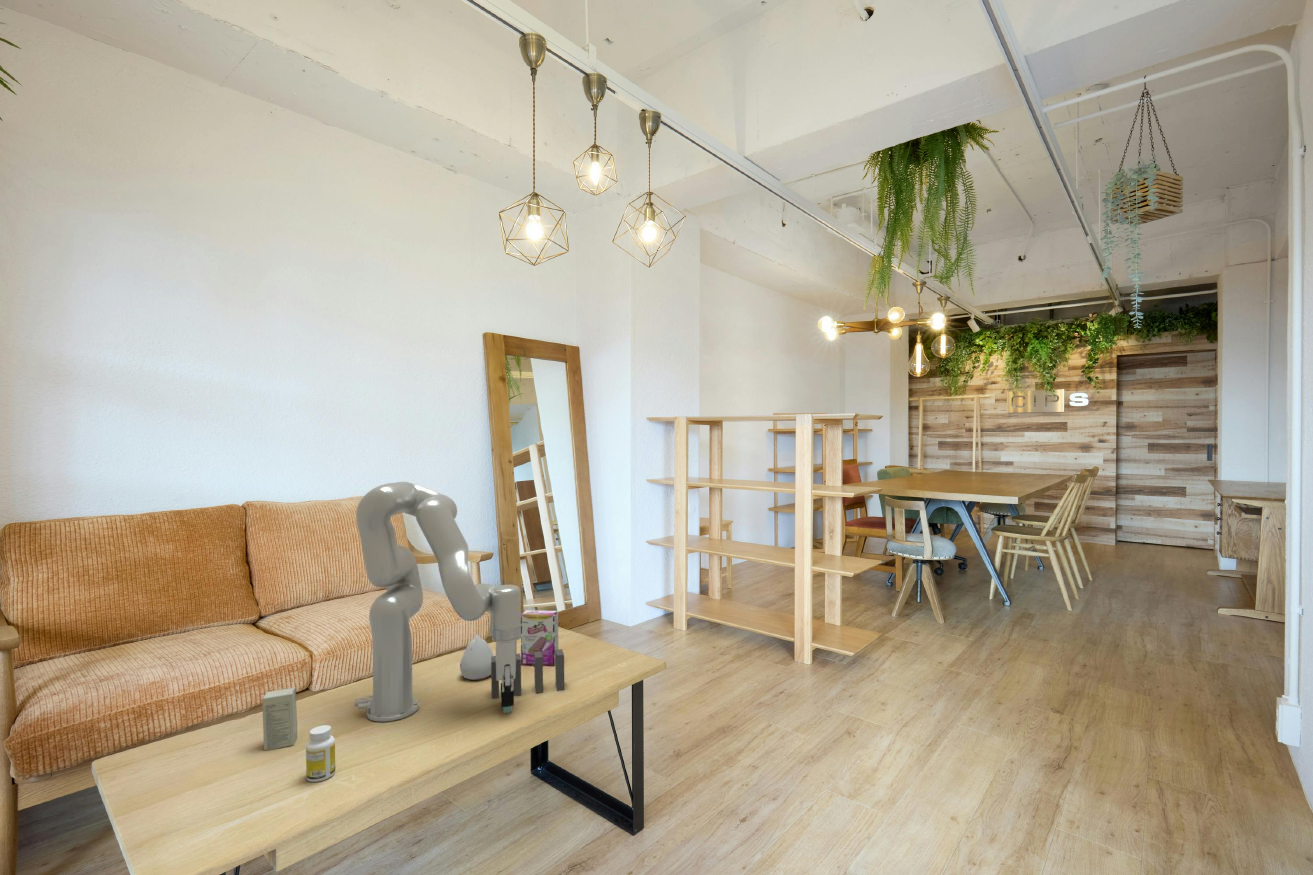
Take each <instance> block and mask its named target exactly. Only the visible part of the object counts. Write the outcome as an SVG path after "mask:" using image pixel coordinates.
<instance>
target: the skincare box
mask: <svg viewBox="0 0 1313 875" xmlns="http://www.w3.org/2000/svg"><path fill="white" fill-rule="evenodd" d="M261 699H262V701H261V702H262V704H261V705H262V727H263V728H262V729H263V750H264V751H268V750H274V749H279V748H285V747H291V746H294V745H295V744H296V742H297V739H298V718H297V717H298V716H297V714H298V713H297V691H296V687H290V688H289V687H288V688H282V689H277V690H271V691H266V693H265V694H264V695H263V697H262V698H261Z"/></svg>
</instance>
